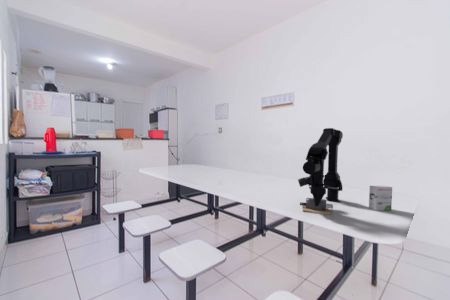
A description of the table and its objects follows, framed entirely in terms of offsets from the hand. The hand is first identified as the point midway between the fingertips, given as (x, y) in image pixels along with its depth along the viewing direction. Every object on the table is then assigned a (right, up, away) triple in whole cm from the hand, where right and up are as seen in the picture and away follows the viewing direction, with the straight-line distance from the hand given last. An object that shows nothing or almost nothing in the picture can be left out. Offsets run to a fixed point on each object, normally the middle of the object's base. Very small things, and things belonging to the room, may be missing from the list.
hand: (315, 204), depth 104 cm
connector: (0, -2, 0) cm, 2 cm away
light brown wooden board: (0, -3, 0) cm, 3 cm away
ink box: (+34, -4, +4) cm, 34 cm away
